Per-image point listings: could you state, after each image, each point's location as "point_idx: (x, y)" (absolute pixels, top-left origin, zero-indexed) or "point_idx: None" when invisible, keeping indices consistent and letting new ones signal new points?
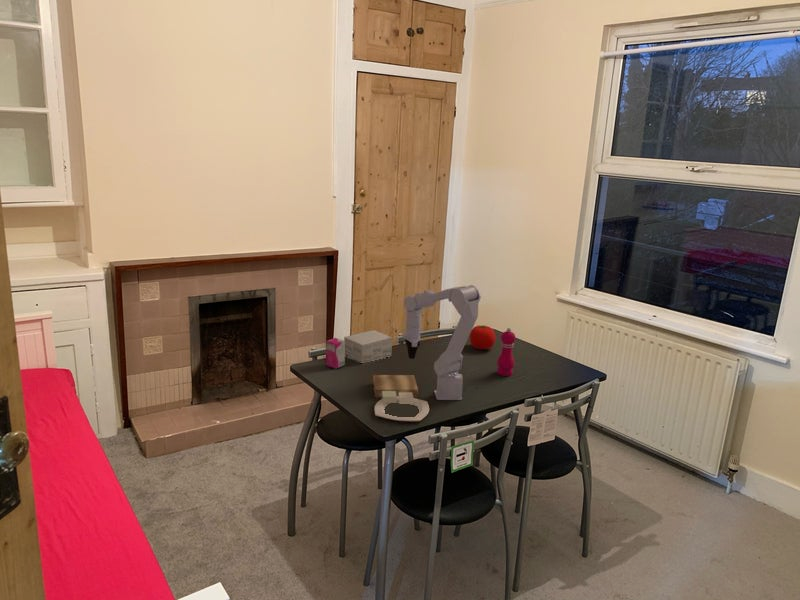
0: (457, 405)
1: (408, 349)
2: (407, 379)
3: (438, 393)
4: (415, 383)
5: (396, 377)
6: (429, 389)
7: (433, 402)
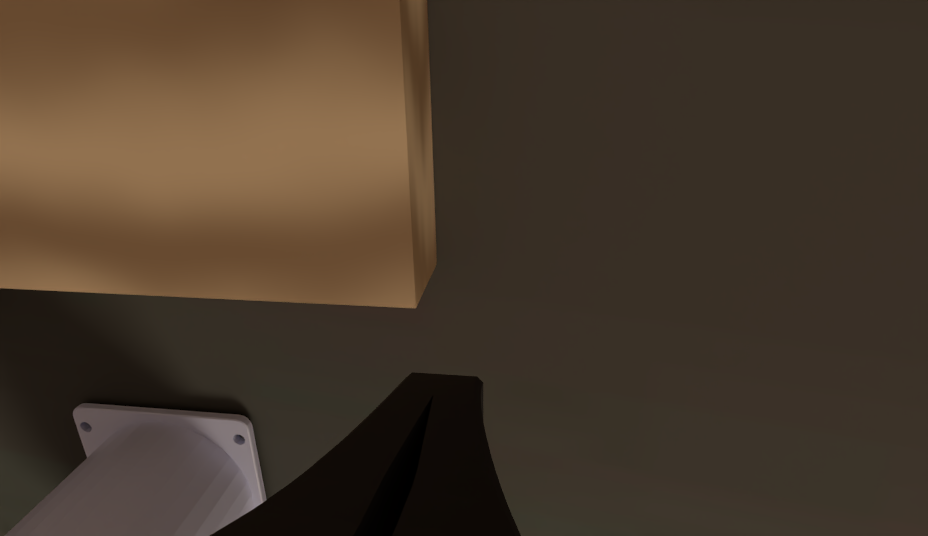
0: None
1: (248, 524)
2: (262, 208)
3: (104, 445)
4: (156, 286)
5: (307, 55)
6: (300, 386)
7: (36, 365)
